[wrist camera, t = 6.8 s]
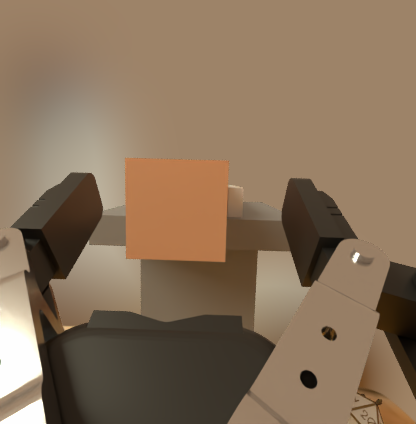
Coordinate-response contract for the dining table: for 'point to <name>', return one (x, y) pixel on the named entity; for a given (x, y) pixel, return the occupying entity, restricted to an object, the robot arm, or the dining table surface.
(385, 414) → the dining table surface
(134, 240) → the bar
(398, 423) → the dining table surface
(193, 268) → the stand
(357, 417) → the game die
